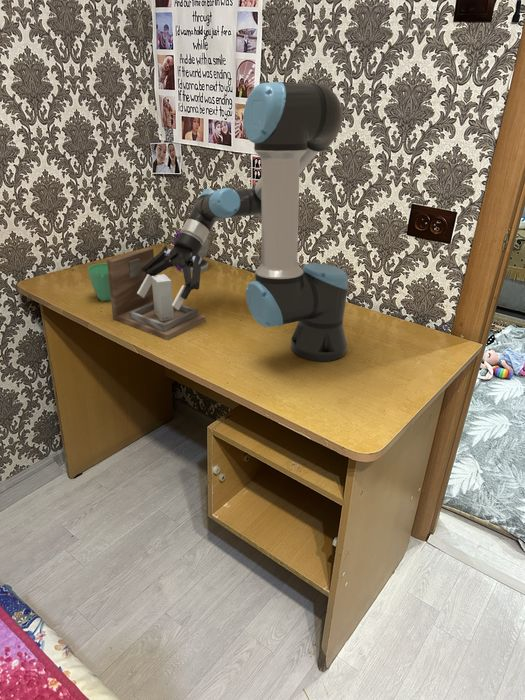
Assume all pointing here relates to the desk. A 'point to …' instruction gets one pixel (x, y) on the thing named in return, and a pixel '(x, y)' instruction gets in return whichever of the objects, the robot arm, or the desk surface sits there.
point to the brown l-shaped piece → (141, 310)
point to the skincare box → (162, 297)
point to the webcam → (201, 253)
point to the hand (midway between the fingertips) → (157, 301)
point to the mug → (100, 280)
